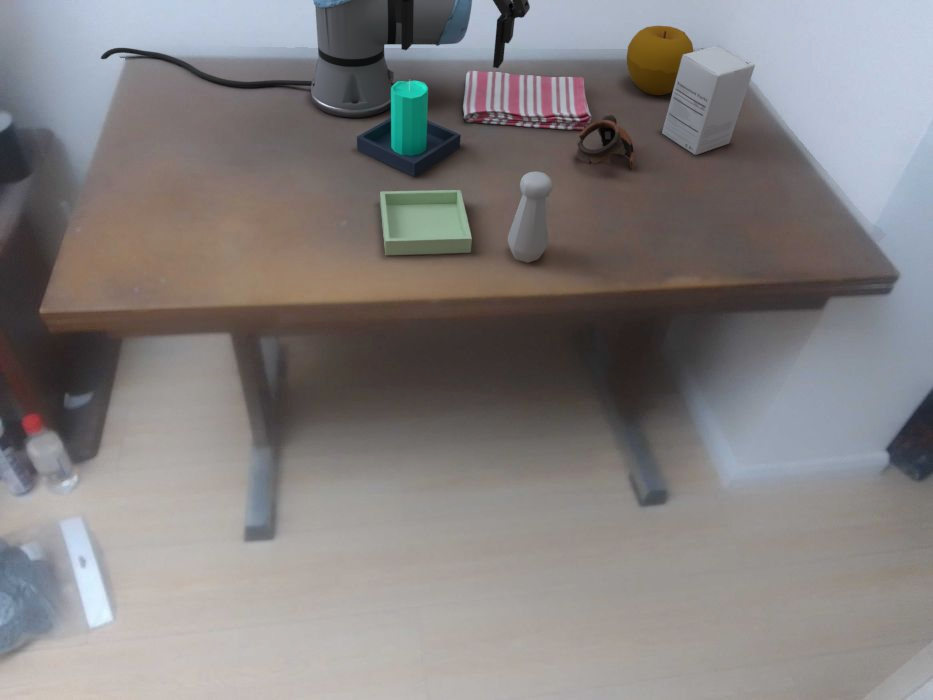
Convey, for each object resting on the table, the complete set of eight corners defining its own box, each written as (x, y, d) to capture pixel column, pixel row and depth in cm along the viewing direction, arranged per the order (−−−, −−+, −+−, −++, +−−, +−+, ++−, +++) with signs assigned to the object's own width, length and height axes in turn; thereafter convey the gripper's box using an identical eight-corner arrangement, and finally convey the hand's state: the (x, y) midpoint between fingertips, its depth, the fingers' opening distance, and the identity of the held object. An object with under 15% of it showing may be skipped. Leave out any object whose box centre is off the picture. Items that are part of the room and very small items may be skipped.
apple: (610, 90, 151) (622, 32, 143) (635, 67, 159) (648, 11, 151) (671, 110, 146) (687, 51, 138) (694, 85, 154) (710, 29, 146)
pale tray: (385, 255, 109) (385, 241, 107) (380, 205, 118) (380, 191, 116) (470, 252, 111) (472, 238, 109) (459, 203, 120) (460, 189, 118)
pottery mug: (639, 181, 128) (626, 148, 122) (584, 194, 132) (569, 162, 126) (637, 130, 134) (625, 95, 128) (585, 144, 138) (571, 110, 132)
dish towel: (590, 132, 138) (593, 114, 136) (462, 123, 137) (463, 105, 135) (581, 88, 150) (585, 71, 148) (463, 79, 150) (464, 62, 147)
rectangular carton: (695, 122, 144) (718, 43, 133) (730, 144, 138) (757, 64, 128) (659, 133, 140) (681, 52, 129) (694, 156, 135) (719, 74, 124)
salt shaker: (504, 241, 114) (513, 164, 104) (541, 241, 114) (554, 165, 105) (508, 266, 109) (519, 188, 100) (548, 266, 110) (562, 189, 101)
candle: (431, 142, 131) (434, 75, 123) (418, 158, 127) (420, 90, 119) (399, 134, 132) (399, 67, 124) (385, 150, 128) (384, 82, 120)
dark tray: (357, 150, 129) (356, 136, 127) (404, 123, 136) (404, 110, 134) (414, 177, 124) (414, 163, 122) (459, 148, 131) (460, 134, 130)
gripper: (354, -124, 93) (360, 48, 108) (552, -94, 89) (530, 82, 103) (377, -136, 98) (380, 30, 113) (566, -108, 94) (543, 61, 109)
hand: (452, 55), depth 108 cm, fingers open, 13 cm apart
